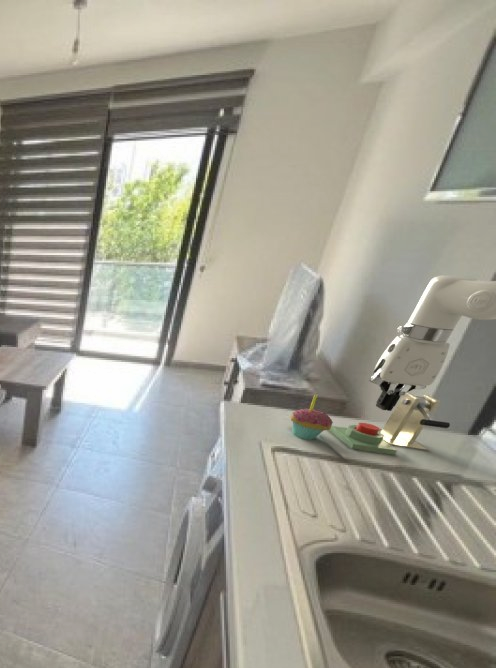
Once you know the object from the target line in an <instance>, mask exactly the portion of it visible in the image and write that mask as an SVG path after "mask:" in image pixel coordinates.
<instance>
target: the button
mask: <svg viewBox="0 0 496 668" xmlns="http://www.w3.org/2000/svg"><path fill="white" fill-rule="evenodd" d="M357 425H358V426H357V428H356V430H357V431H359V432H361V433H364V434H368V435H374V436H375V435H376V434H377V433H378V431H379V429H380V427H378V426H377V425H374V424H371V423H367V422H359V423H358V424H357Z"/></svg>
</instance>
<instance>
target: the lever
mask: <svg viewBox="0 0 496 668" xmlns="http://www.w3.org/2000/svg"><path fill="white" fill-rule="evenodd" d="M415 396H416V397H418V398H420V399H421V400H420V402H419V403H418V405H417V407H416V408H415V410H418V411H420V412H421V413H422V415H423V416H424V417H425V418H426V419H422V420H421V421H420V425H425V426H424V427H432V428H433V427H434V428H439V429H448V428H450V426H451V423H450V422H448V421H440V420H437V418H436V417H435V416H434V415H433V414H431V412H430V411H429V410H428V409H427V406H428V405H429V404H430V403H429V402H428V401H427V400H426V399H425V397H423V396H420V395H419V396H417V395H415Z"/></svg>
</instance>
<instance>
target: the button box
mask: <svg viewBox="0 0 496 668" xmlns="http://www.w3.org/2000/svg"><path fill="white" fill-rule="evenodd" d="M357 426H358V424H350V425H348V426H347V427H344V426H336V425H332V426H331V428H330V430H329V432H330V433H332V434H334V436H336V437H337V438H338V439H339V440H340V441H342V442H343V443H344V444H345V445H347V446H348V447H349V448H350V449H353V450H360V451H367V452H373V453H379V454H385V455H393V456H394V455H395V454H396V452H397V449H396V448H394V447H393V446H392V445H390V444H388V443H387V442H385V441H384V440H383V438H384V434H382V433H381V432H379V431H378V433H377V434H376V435H375V436H374V435H368V434H364V433H361V432H359V431H357V430H356V428H357Z"/></svg>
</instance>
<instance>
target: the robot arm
mask: <svg viewBox="0 0 496 668" xmlns="http://www.w3.org/2000/svg"><path fill="white" fill-rule="evenodd" d="M462 317H466V318H469V319H473V320H480V321H481V320H482V321H489V320H490V321H491V320H496V280H488V281H487V280H478V279H476V278H472V277H469V276H460V275H447V274H446V275H445V274H444V275H437V276H434V277H433V278H431V280H430V281H429V283H428V284H427V286H426V288H425V289H424V291H423V293H422V295H421V297H420V299H419V301H418V303H417V304H416V306H415V308H414V309H413V312H412V313H411V315H410V317H409V319H408V321H407V322H406V323H405V325H404V326H403V325H400V326H399V327H398V328H397V330H396V331H397V333H400V335H396V337H395V338H394V339H392V341H391V342H390V343H389V345H388V346H387V347H386V349H385V350H384V352H383V353H382V354H381V356H380V357H379V359H378V361H377V363H376V365H375V366H374V369H373V371H372V376H371V377H370V379H369V382H370V383H372V384H374V385H378V386H379V388H380V390H381V392H380V394H379V397H378V399H377V400H376V403H375V406H376V407H377V408H378V409H380V410H382V411H387V412H391V411H392V410H393V409H394V407H396V406H397V403H399V401H400V399H401V397H403V395H405V394H406V393H410V392H411V391H413V390H423V389H426V388H427V386H430V385H432V384H433V383H434V382H435V380H436V379H437V377H438V375H439V374H440V371H442V367H443V366H444V363H445V361H446V358H447V356H448V353H449V349H450V345H451V343H449V342H448V340H449V338H450V336H451V335H452V333H453V331H454V329H455V328H456V326H457V325H458V323H459V321H460V320H461V318H462Z"/></svg>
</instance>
